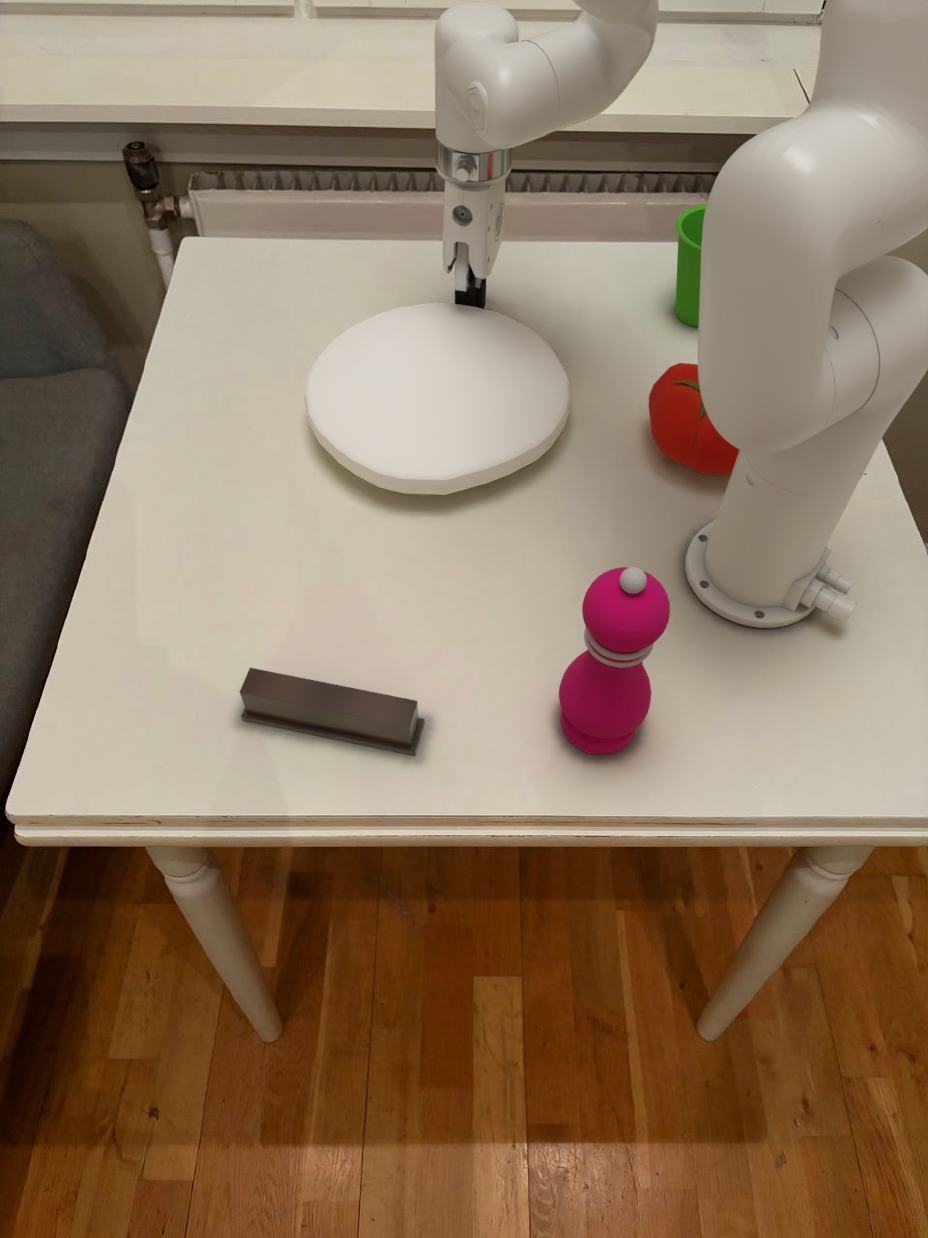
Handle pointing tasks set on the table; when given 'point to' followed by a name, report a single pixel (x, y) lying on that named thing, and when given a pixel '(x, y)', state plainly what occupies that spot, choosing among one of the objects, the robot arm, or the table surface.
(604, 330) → the table surface
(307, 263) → the table surface
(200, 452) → the table surface
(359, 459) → the plate
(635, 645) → the pepper mill
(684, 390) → the tomato
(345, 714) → the rail
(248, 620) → the table surface
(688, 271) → the cup
